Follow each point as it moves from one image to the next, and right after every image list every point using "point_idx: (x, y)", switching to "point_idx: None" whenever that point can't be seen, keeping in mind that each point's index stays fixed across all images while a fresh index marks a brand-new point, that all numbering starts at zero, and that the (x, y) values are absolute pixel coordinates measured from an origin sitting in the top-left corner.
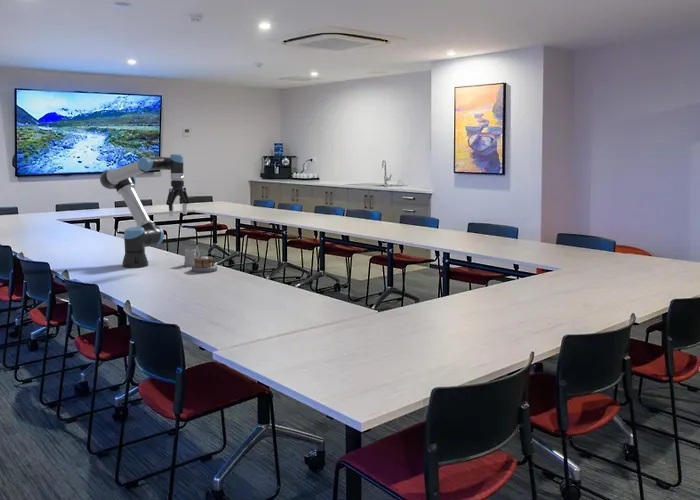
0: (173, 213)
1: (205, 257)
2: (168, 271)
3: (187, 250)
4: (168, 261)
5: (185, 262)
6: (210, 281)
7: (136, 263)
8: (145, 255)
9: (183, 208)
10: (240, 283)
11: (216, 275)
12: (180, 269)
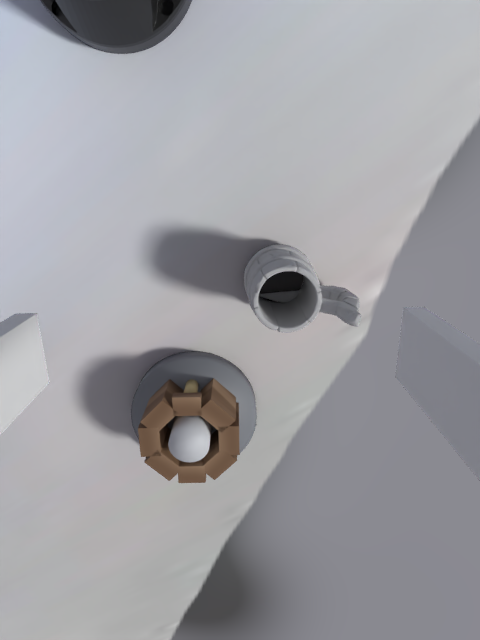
0: (18, 406)
1: (183, 455)
2: (84, 273)
3: (253, 302)
4: (330, 77)
5: (246, 270)
6: (25, 533)
7: (52, 13)
8: (133, 2)
9: (447, 370)
10: (60, 621)
11: (129, 499)
12: (157, 296)
